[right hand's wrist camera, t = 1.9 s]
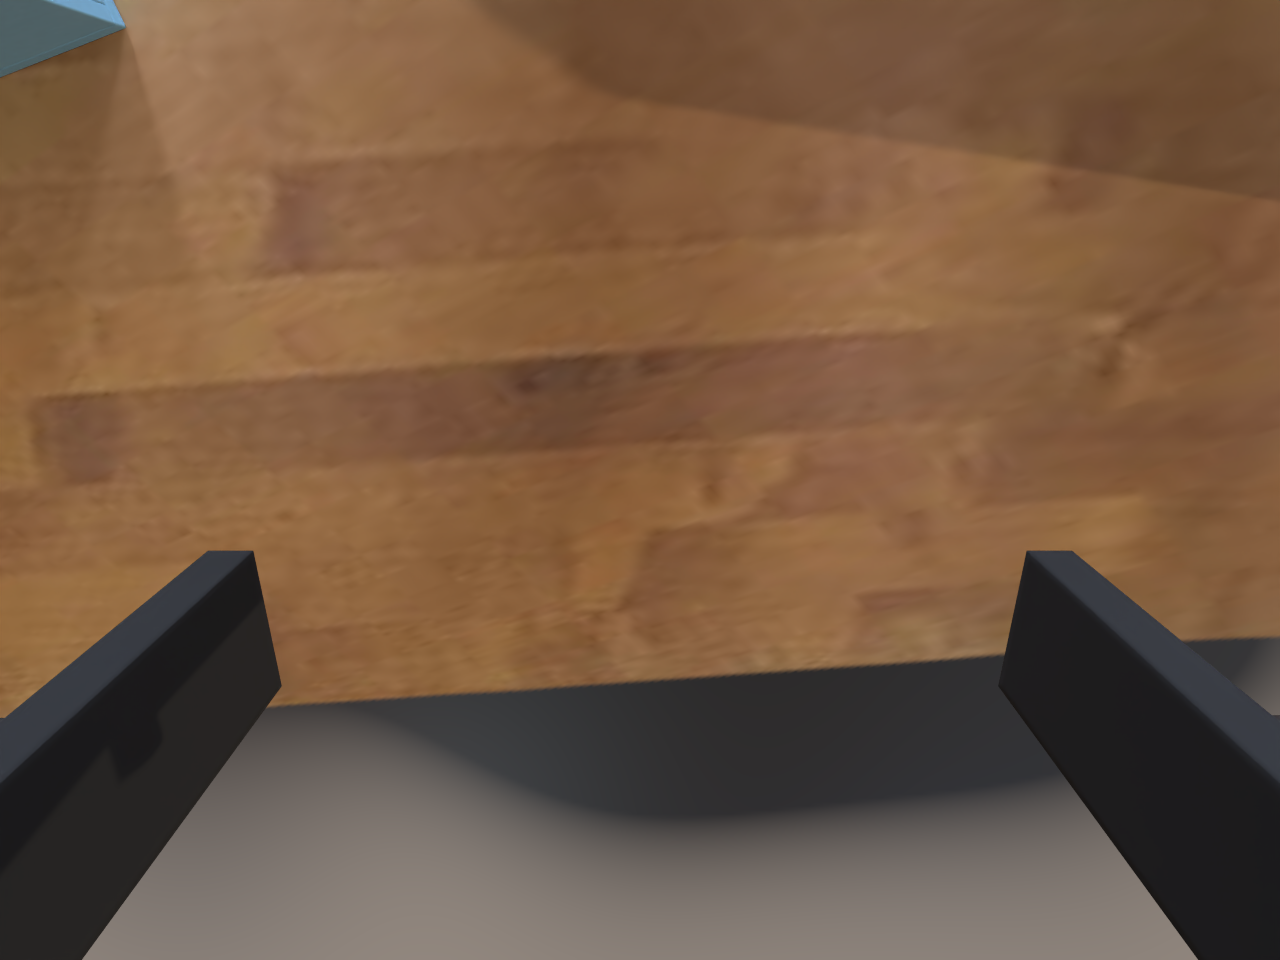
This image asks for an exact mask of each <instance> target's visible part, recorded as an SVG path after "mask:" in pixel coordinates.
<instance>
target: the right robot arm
mask: <svg viewBox="0 0 1280 960" xmlns="http://www.w3.org/2000/svg"><path fill="white" fill-rule="evenodd" d="M281 686H282V685H281V681H280V676H279V671H278V666H277V662H276V657H275V652H274V647H273V643H272V638H271V633H270V628H269V624H268V619H267V614H266V609H265V605H264V600H263V595H262V590H261V586H260V581H259V576H258V571H257V566H256V562H255V557H254V552H253V551H207V552H206V553H205V554H204V555H202V556H201V557H200V558H199V559H197V560H196V561H195V562H194V563H193V564H191V565H190V566H189V567H188V568H187V569H185V570H184V571H183V572H182V573H180V574H179V575H178V576H177V577H176V578H174V579H173V580H172V581H171V582H170V583H168V584H167V585H166V586H165V587H163V588H162V589H161V590H160V591H159V592H157V593H156V594H155V595H154V596H153V597H151V598H150V599H149V600H148V601H146V602H145V603H144V604H143V605H142V606H140V607H139V608H138V609H137V610H136V611H134V612H133V613H132V614H131V615H129V616H128V617H127V618H126V619H125V620H123V621H122V622H121V623H120V624H119V625H117V626H116V627H115V628H114V629H112V630H111V631H110V632H109V633H108V634H106V635H105V636H104V637H103V638H102V639H100V640H99V641H98V642H97V643H95V644H94V645H93V646H92V647H91V648H89V649H88V650H87V651H86V652H84V653H83V654H82V655H81V656H80V657H78V658H77V659H76V660H75V661H74V662H72V663H71V664H70V665H69V666H67V667H66V668H65V669H64V670H63V671H61V672H60V673H59V674H58V675H57V676H55V677H54V678H53V679H52V680H50V681H49V682H48V683H47V684H46V685H44V686H43V687H42V688H41V689H40V690H38V691H37V692H36V693H35V694H33V695H32V696H31V697H30V698H29V699H27V700H26V701H25V702H24V703H23V704H21V705H20V706H19V707H18V708H16V709H15V710H14V711H13V712H12V713H10V714H9V715H8V716H7V717H6V718H0V960H82V959H83V957H84V956H85V955H86V953H87V952H88V950H89V949H90V948H91V946H92V945H93V944H94V942H95V941H96V940H97V938H98V937H99V935H100V934H101V933H102V931H103V930H104V929H105V927H106V926H107V924H108V923H109V922H110V920H111V919H112V918H113V916H114V915H115V914H116V912H117V911H118V909H119V908H120V907H121V905H122V904H123V903H124V901H125V900H126V898H127V897H128V896H129V894H130V893H131V892H132V890H133V889H134V888H135V886H136V885H137V883H138V882H139V881H140V879H141V878H142V877H143V875H144V874H145V872H146V871H147V870H148V868H149V867H150V866H151V864H152V863H153V861H154V860H155V859H156V857H157V856H158V855H159V853H160V852H161V851H162V849H163V848H164V846H165V845H166V844H167V842H168V841H169V840H170V838H171V837H172V836H173V834H174V833H175V831H176V830H177V829H178V827H179V826H180V825H181V823H182V822H183V820H184V819H185V818H186V816H187V815H188V814H189V812H190V811H191V809H192V808H193V807H194V805H195V804H196V803H197V801H198V800H199V799H200V797H201V796H202V794H203V793H204V792H205V790H206V789H207V788H208V786H209V785H210V783H211V782H212V781H213V779H214V778H215V777H216V775H217V774H218V773H219V771H220V770H221V768H222V767H223V766H224V764H225V763H226V761H227V760H228V759H229V757H230V756H231V755H232V753H233V752H234V751H235V749H236V748H237V746H238V745H239V744H240V742H241V741H242V740H243V738H244V737H245V735H246V734H247V733H248V731H249V730H250V729H251V727H252V726H253V725H254V723H255V722H256V720H257V719H258V718H259V716H260V715H261V714H262V712H263V711H264V710H265V708H266V707H267V705H268V704H269V703H270V701H271V700H272V699H273V697H274V696H275V694H276V693H277V692H278V690H279V689H280V688H281ZM999 688H1000V689H1001V690H1002V692H1003V693H1004V694H1005V696H1006V697H1007V699H1008V700H1009V701H1010V703H1011V704H1012V705H1013V707H1014V708H1015V710H1016V711H1017V712H1018V714H1019V715H1020V716H1021V718H1022V719H1023V720H1024V722H1025V723H1026V725H1027V726H1028V727H1029V729H1030V730H1031V731H1032V733H1033V734H1034V736H1035V737H1036V738H1037V740H1038V741H1039V742H1040V744H1041V745H1042V746H1043V748H1044V749H1045V751H1046V752H1047V753H1048V755H1049V756H1050V757H1051V759H1052V760H1053V762H1054V763H1055V764H1056V766H1057V767H1058V768H1059V770H1060V771H1061V773H1062V774H1063V775H1064V777H1065V778H1066V779H1067V781H1068V782H1069V783H1070V785H1071V786H1072V788H1073V789H1074V790H1075V792H1076V793H1077V794H1078V796H1079V797H1080V799H1081V800H1082V801H1083V803H1084V804H1085V805H1086V807H1087V808H1088V809H1089V811H1090V812H1091V814H1092V815H1093V816H1094V818H1095V819H1096V820H1097V822H1098V823H1099V825H1100V826H1101V827H1102V829H1103V830H1104V831H1105V833H1106V834H1107V836H1108V837H1109V838H1110V840H1111V841H1112V842H1113V844H1114V845H1115V846H1116V848H1117V849H1118V851H1119V852H1120V853H1121V855H1122V856H1123V857H1124V859H1125V860H1126V861H1127V863H1128V864H1129V866H1130V867H1131V868H1132V870H1133V871H1134V872H1135V874H1136V875H1137V877H1138V878H1139V879H1140V881H1141V882H1142V883H1143V885H1144V886H1145V887H1146V889H1147V890H1148V892H1149V893H1150V894H1151V896H1152V897H1153V898H1154V900H1155V901H1156V903H1157V904H1158V905H1159V907H1160V908H1161V909H1162V911H1163V912H1164V914H1165V915H1166V916H1167V918H1168V919H1169V920H1170V922H1171V923H1172V925H1173V926H1174V927H1175V929H1176V930H1177V931H1178V933H1179V934H1180V935H1181V937H1182V938H1183V940H1184V941H1185V942H1186V944H1187V945H1188V946H1189V948H1190V949H1191V951H1192V952H1193V953H1194V955H1195V956H1196V957H1197V959H1198V960H1280V715H1271V714H1270V713H1268V712H1267V711H1266V710H1265V709H1264V708H1262V707H1261V706H1260V705H1259V704H1257V703H1256V702H1255V701H1254V700H1253V699H1251V698H1250V697H1249V696H1248V695H1247V694H1245V693H1244V692H1243V691H1242V690H1240V689H1239V688H1238V687H1237V686H1236V685H1234V684H1233V683H1232V682H1231V681H1229V680H1228V679H1227V678H1226V677H1225V676H1223V675H1222V674H1221V673H1220V672H1219V671H1217V670H1216V669H1215V668H1214V667H1212V666H1211V665H1210V664H1209V663H1208V662H1206V661H1205V660H1204V659H1203V658H1202V657H1200V656H1199V655H1198V654H1197V653H1196V652H1194V651H1193V650H1192V649H1191V648H1189V647H1188V646H1187V645H1186V644H1185V643H1183V642H1182V641H1181V640H1180V639H1178V638H1177V637H1176V636H1175V635H1174V634H1172V633H1171V632H1170V631H1169V630H1168V629H1166V628H1165V627H1164V626H1163V625H1161V624H1160V623H1159V622H1158V621H1157V620H1155V619H1154V618H1153V617H1152V616H1151V615H1149V614H1148V613H1147V612H1146V611H1144V610H1143V609H1142V608H1141V607H1140V606H1138V605H1137V604H1136V603H1135V602H1134V601H1132V600H1131V599H1130V598H1129V597H1127V596H1126V595H1125V594H1124V593H1123V592H1121V591H1120V590H1119V589H1118V588H1117V587H1115V586H1114V585H1113V584H1112V583H1110V582H1109V581H1108V580H1107V579H1106V578H1104V577H1103V576H1102V575H1101V574H1100V573H1098V572H1097V571H1096V570H1095V569H1093V568H1092V567H1091V566H1090V565H1089V564H1087V563H1086V562H1085V561H1084V560H1082V559H1081V558H1080V557H1079V556H1078V555H1076V554H1075V553H1074V552H1073V551H1027V552H1026V557H1025V562H1024V566H1023V571H1022V576H1021V581H1020V586H1019V590H1018V595H1017V600H1016V605H1015V609H1014V614H1013V619H1012V624H1011V628H1010V633H1009V638H1008V643H1007V647H1006V652H1005V657H1004V662H1003V666H1002V671H1001V676H1000V681H999Z"/></svg>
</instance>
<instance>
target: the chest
mask: <svg viewBox="0 0 1280 960" xmlns="http://www.w3.org/2000/svg"><path fill="white" fill-rule="evenodd" d="M124 28H126V26H125V24H124V22H123V20H122V18H121V16H120V14H119V12H118V10H117V8H116V6H115V4H114V2H113V0H0V77H2V76H5V75H7V74H10V73H13V72H15V71H18V70H20V69H23V68H25V67H28V66H30V65H33V64H35V63H38V62H41V61H43V60H46V59H48V58H51V57H53V56H56V55H58V54H61V53H63V52H66V51H69V50H71V49H74V48H76V47H79V46H81V45H84V44H86V43H89V42H91V41H94V40H96V39H99V38H102V37H104V36H107V35H109V34H112V33H114V32H117V31H119V30H122V29H124Z"/></svg>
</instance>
